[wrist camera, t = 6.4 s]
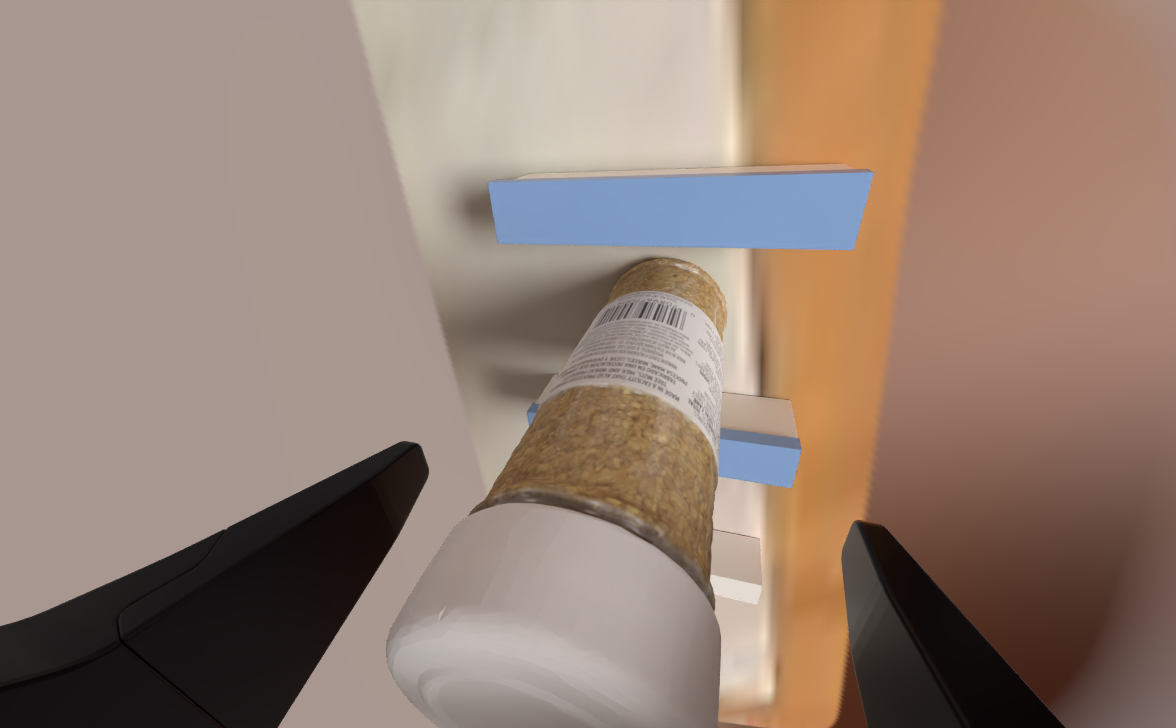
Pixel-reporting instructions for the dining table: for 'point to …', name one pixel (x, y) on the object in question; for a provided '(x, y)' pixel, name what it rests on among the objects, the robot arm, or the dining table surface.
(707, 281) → the sprinkles bottle
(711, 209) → the rail comb
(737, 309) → the dining table surface
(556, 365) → the dining table surface
